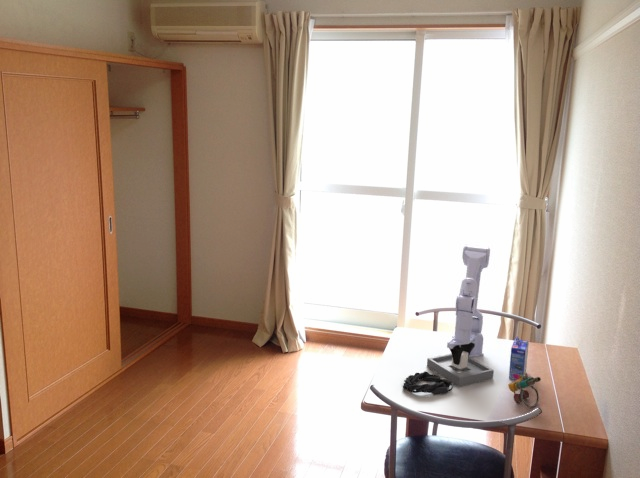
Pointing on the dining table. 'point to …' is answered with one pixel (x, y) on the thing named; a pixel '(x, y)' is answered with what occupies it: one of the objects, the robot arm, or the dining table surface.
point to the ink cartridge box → (518, 359)
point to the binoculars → (524, 393)
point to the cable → (427, 388)
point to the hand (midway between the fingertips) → (460, 362)
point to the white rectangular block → (462, 361)
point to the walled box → (469, 376)
